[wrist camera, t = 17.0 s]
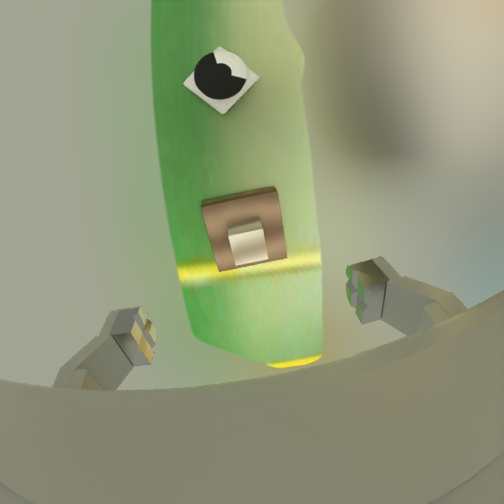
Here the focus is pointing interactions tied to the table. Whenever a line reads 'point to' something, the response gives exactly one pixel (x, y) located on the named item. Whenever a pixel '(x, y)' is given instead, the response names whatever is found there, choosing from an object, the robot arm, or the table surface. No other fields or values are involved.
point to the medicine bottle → (221, 79)
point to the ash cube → (247, 241)
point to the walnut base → (242, 208)
